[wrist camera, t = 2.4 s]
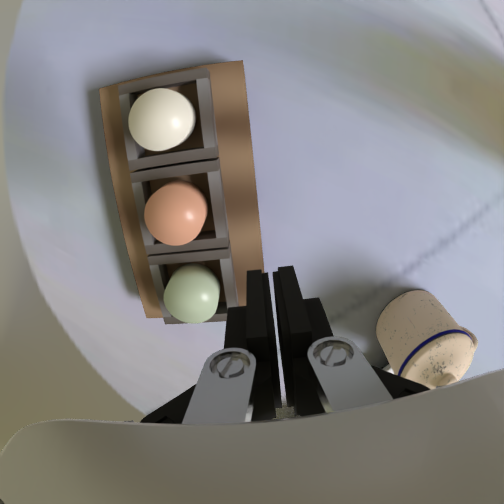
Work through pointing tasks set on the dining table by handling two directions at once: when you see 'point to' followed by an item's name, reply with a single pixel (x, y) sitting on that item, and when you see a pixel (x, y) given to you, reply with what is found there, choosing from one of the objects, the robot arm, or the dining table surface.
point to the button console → (192, 170)
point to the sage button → (192, 293)
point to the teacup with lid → (424, 340)
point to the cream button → (161, 119)
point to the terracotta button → (176, 212)
